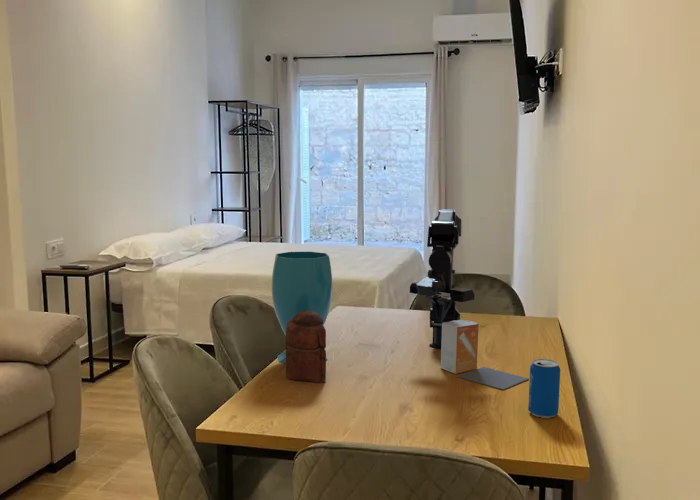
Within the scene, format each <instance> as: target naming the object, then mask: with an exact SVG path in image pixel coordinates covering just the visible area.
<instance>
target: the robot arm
mask: <svg viewBox="0 0 700 500" xmlns="http://www.w3.org/2000/svg"><path fill="white" fill-rule="evenodd" d="M462 224H463V223H462V219H461V218H460V217H459V216H457V213H456V210H454V209H440V210H438V215H437V216H436V217H434V219H433V220H432V221H431V224H429V225H428V231H427V233H428V234H427V244H426V247H427V248H429V247H430V248H432V249H431V253H430V255H429V257H428V264H429V265H428V266H429V267H430V269H428V271H427V276H426V277H424V278H422V279H420V280H419V281H415V282H411V284H410V286H409V294H410V293H411V294H415V295H419V296H424V297H425V299H427V300H428V301H429V302H430V303H431V305H432V307H430V309H429V328H431V329H432V342H431V343H429V345H428V346H430V347H432V348H433V347H434V348H435V349H440V350H441V340H442V323H443V322H449V321H455V320H461V314H460V313H459V309H458V308H457V305H456V303H457V302H458V303H466V302H470V301H474V300H475V291H474V290H473V289H472V288H471V289H470V288H466V287H460V288H455V287H456V286H455V285H456V284H454V283H453V275H454V274H456V270H455V269H454V267H453V266H454V251H455V249H456V248H457V247H458V245H459V243H460V237H462V229H463V228H462Z"/></svg>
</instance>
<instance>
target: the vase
mask: <svg viewBox="0 0 700 500" xmlns="http://www.w3.org/2000/svg"><path fill="white" fill-rule="evenodd" d="M271 275H272V276H271V295H272V296H271V298H272V305H273V309H274V312H275V315H276V318H277V320H278V322H279V325H280V327H281V329H282V332H283V334H284V336H285V337H286V326H287V323H288V321H290V320H292V318H293V317H294V316H295V315H296V314H297V313H299V312H301V311H314V312H316V313H317V314H319V315H320V316H321V317H322V319H323V324H322V325H323V326H324V327H325V324H326V321H327V318H328V316H329V313H330V309H331V304H332V300H333V299H332V298H333V275H332V266H331V259H330V255H328V253H327V252H318V251H317V252H316V251H286V252H279V253H275V257H274V263H273V267H272V274H271ZM277 360H278V363H282V364H285V365H286V349H285V350H283V352H281V353H280V354H278V355H277ZM326 361H328V358H327V357H326Z"/></svg>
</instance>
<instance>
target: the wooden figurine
mask: <svg viewBox="0 0 700 500" xmlns="http://www.w3.org/2000/svg"><path fill="white" fill-rule="evenodd" d="M322 324H323V319H322V317H321V316H320V315H319V314H317V313H316V312H314V311H301V312H299V313H297V314H296V315H295V316H294V317H293V318H292V320H290V321H288V323H287V326H286V336H285V350H286V364H285V377H286V378H287V379H290V380H293V381H299V382H300V381H301V382H302V381H303V382H310V383H318V384H320V383H321V384H322V383H326V379H327V376H326V375H327V360H326V358H327V350H326V347H327V331H326V328H325V325H324V326H323V325H322Z"/></svg>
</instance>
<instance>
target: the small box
mask: <svg viewBox="0 0 700 500" xmlns="http://www.w3.org/2000/svg"><path fill="white" fill-rule="evenodd" d="M479 325H480V324H479V323H478V322H475V321H471V320H469V319H468V320H467V319H464V318H463V319H460V320H455V321H449V322H443V323H442V340H441V349H440V369H442V370H444V371H448V372H450V373H452V374H454V375H455V374H460V373H467V372H470V371H473V370H476V369H478V349H479V327H480V326H479Z"/></svg>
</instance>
